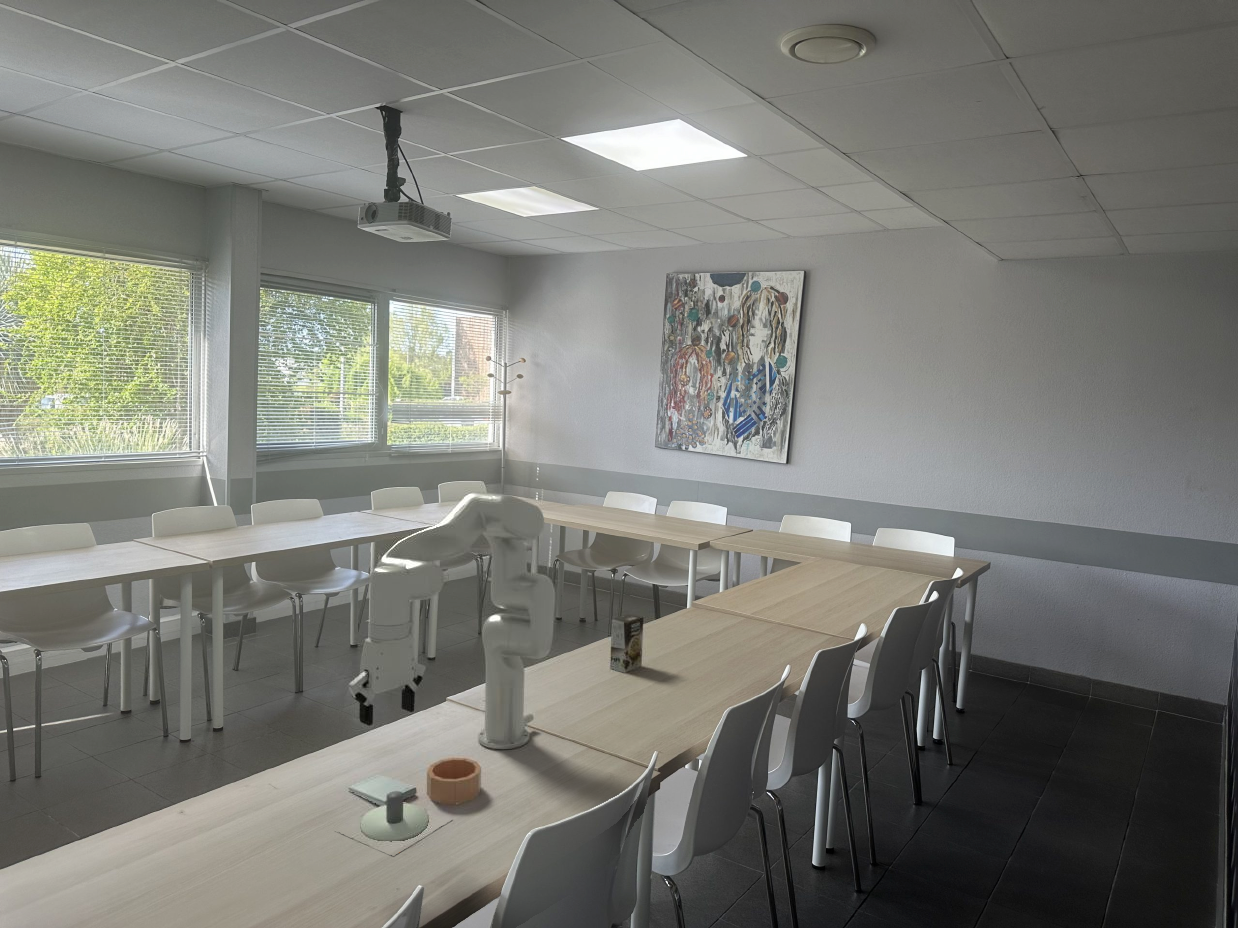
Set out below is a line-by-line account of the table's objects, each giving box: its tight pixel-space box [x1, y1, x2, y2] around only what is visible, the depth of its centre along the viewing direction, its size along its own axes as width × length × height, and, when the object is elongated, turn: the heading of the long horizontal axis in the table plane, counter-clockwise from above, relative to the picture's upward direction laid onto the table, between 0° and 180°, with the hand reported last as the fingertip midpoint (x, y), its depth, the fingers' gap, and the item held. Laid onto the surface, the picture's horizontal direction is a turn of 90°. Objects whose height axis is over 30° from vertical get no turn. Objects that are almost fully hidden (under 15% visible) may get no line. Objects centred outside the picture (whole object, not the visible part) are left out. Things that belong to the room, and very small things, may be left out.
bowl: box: [426, 757, 482, 805], centre depth 178 cm, size 11×11×6 cm
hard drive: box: [347, 774, 418, 807], centre depth 176 cm, size 2×8×12 cm
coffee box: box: [609, 613, 644, 673], centre depth 263 cm, size 9×6×16 cm
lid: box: [360, 791, 429, 842], centre depth 163 cm, size 13×13×6 cm
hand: (387, 716), depth 162 cm, fingers open, 9 cm apart
